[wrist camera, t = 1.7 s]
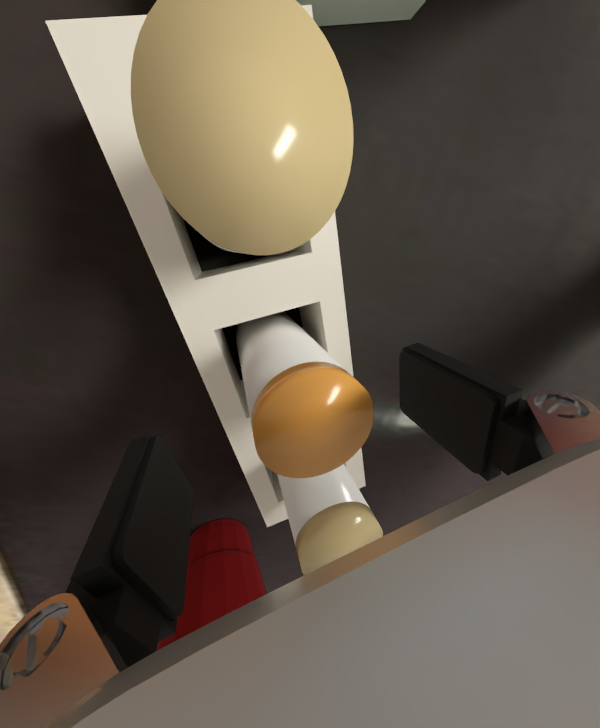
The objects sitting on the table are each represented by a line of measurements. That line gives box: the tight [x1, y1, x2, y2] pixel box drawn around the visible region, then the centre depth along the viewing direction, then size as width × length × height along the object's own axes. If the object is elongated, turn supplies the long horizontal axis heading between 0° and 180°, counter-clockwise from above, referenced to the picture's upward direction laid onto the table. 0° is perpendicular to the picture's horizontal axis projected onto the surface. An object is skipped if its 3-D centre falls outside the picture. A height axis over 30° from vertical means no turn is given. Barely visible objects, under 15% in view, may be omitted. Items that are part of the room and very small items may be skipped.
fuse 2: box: [277, 464, 383, 575], centre depth 17 cm, size 4×4×11 cm
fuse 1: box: [131, 0, 353, 255], centre depth 10 cm, size 4×4×11 cm
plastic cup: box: [157, 519, 267, 650], centre depth 20 cm, size 11×11×12 cm
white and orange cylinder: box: [236, 311, 374, 478], centre depth 14 cm, size 4×4×11 cm
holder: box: [46, 5, 366, 527], centre depth 16 cm, size 8×26×5 cm, turn 12°
